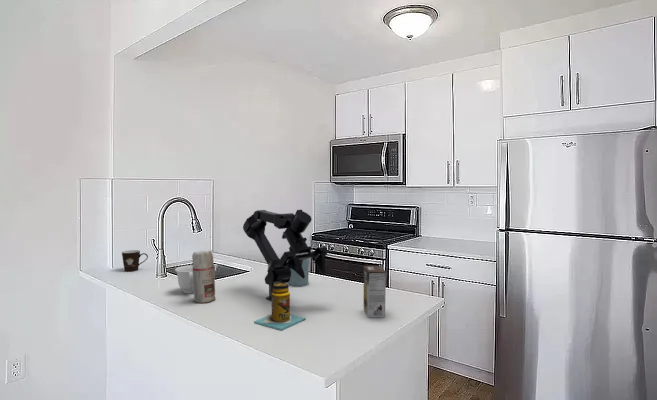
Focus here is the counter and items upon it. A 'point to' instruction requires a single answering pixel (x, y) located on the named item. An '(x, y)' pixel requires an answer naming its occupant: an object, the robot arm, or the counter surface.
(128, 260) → the coffee mug
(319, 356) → the counter surface
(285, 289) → the condiment
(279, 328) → the mat
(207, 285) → the spray can
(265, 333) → the counter surface
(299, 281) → the grey teal cup
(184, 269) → the teacup
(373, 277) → the coffee box
